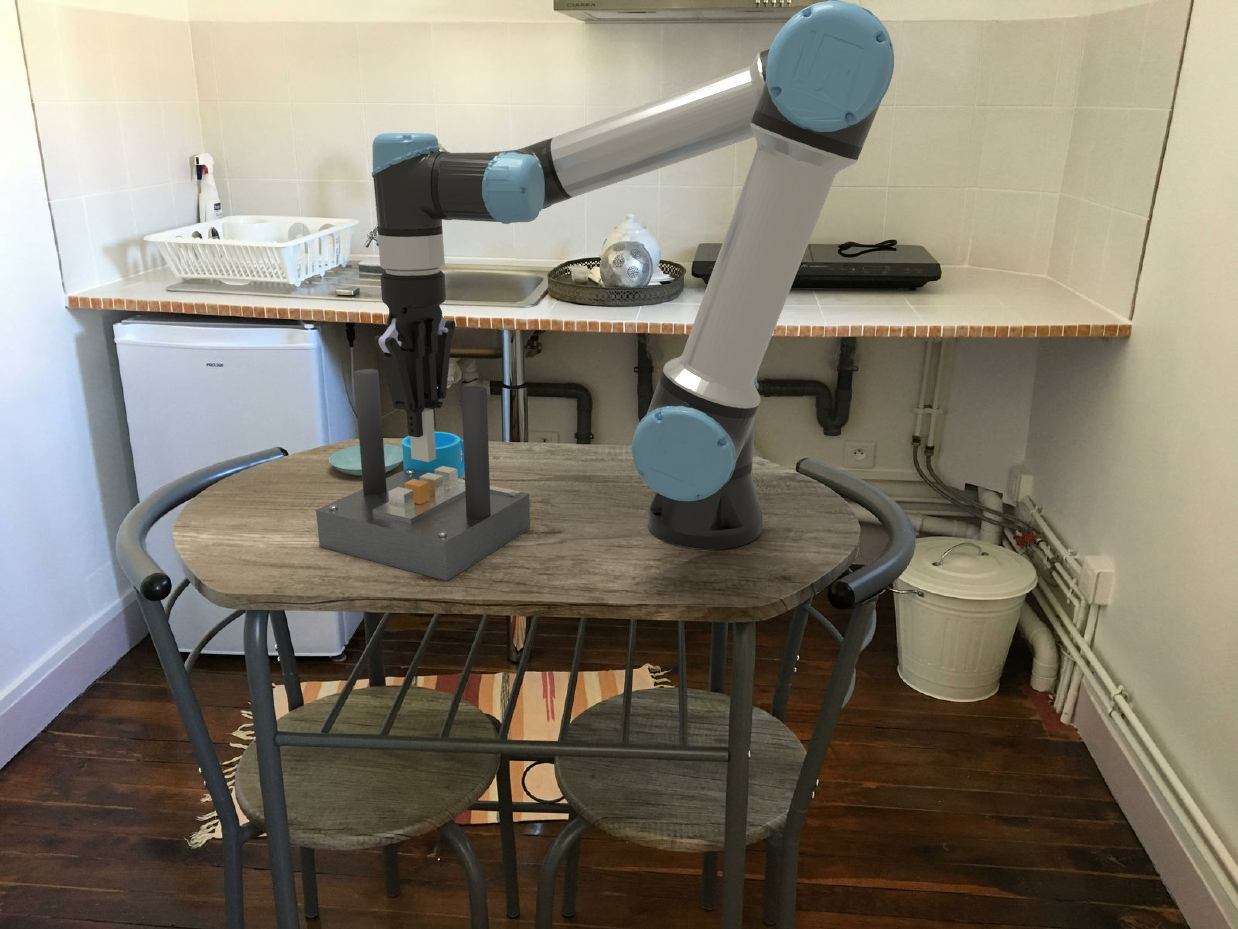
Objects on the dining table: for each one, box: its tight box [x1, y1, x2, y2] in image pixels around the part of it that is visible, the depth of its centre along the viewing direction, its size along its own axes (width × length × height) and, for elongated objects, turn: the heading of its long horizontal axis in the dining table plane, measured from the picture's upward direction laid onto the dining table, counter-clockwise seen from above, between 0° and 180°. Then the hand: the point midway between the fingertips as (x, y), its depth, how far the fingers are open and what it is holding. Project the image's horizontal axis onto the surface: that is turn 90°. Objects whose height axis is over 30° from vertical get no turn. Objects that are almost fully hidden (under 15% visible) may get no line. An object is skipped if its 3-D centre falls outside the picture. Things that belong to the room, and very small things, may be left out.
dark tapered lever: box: [460, 385, 491, 519], centre depth 123 cm, size 3×3×16 cm
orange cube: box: [404, 479, 430, 504], centre depth 127 cm, size 2×2×2 cm
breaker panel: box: [315, 466, 531, 582], centre depth 130 cm, size 20×18×8 cm
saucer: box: [327, 443, 403, 477], centre depth 155 cm, size 12×12×2 cm
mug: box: [401, 431, 465, 479], centre depth 146 cm, size 12×8×8 cm
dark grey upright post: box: [353, 368, 387, 494], centre depth 130 cm, size 3×3×16 cm
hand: (423, 458), depth 127 cm, fingers closed
